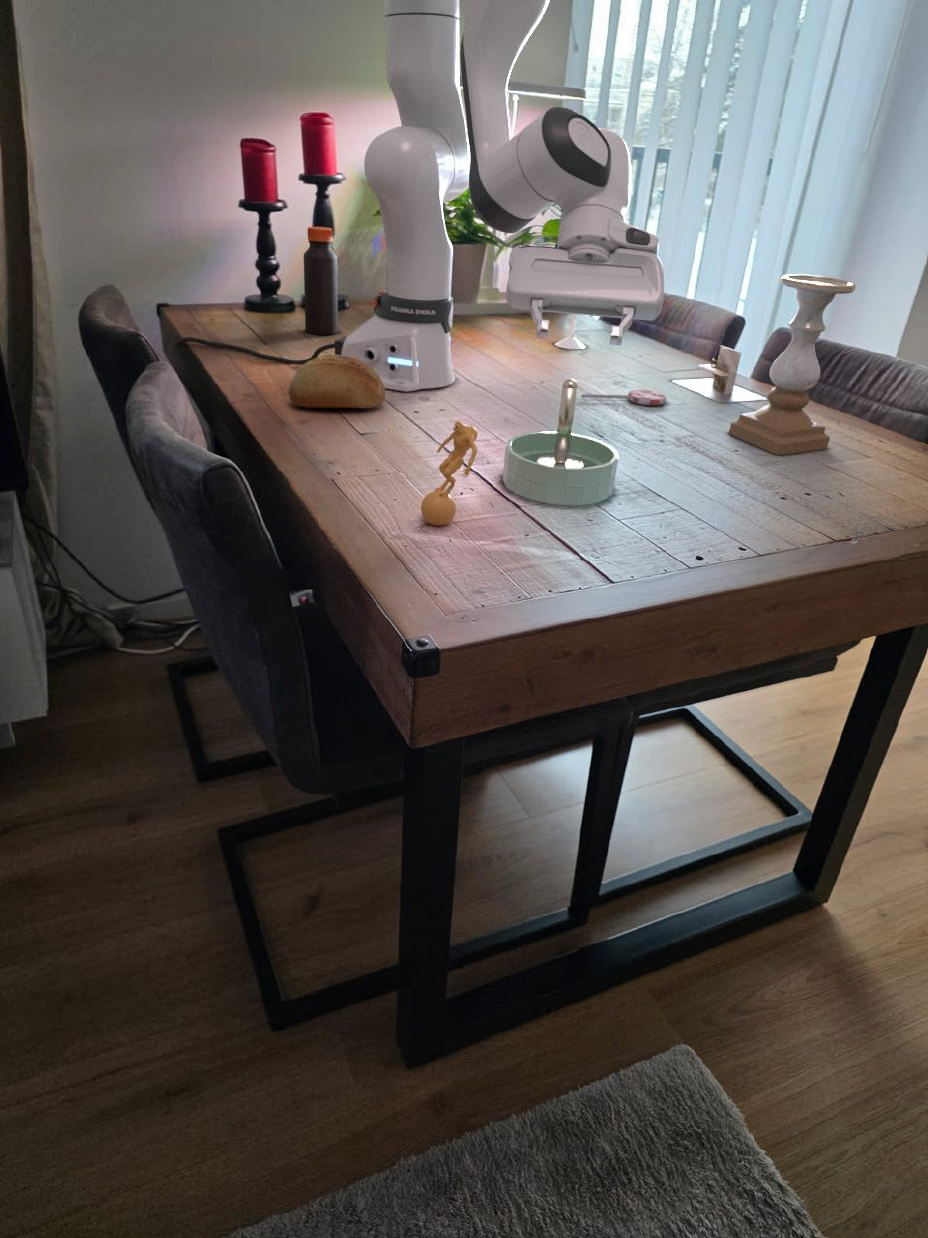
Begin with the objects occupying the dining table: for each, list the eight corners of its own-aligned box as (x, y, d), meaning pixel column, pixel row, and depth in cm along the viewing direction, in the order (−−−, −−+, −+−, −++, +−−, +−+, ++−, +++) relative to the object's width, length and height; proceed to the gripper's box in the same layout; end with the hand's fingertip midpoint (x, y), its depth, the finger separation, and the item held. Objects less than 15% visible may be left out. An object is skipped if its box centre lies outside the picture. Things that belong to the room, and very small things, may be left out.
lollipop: (577, 387, 150) (658, 389, 152) (576, 393, 150) (657, 395, 153) (587, 398, 144) (671, 400, 146) (586, 404, 145) (670, 406, 147)
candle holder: (777, 455, 128) (821, 287, 116) (726, 433, 136) (763, 273, 124) (828, 448, 132) (876, 286, 121) (776, 427, 141) (816, 273, 129)
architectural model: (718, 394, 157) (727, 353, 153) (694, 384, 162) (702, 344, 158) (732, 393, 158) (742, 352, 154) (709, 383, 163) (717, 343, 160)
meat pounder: (532, 489, 108) (544, 382, 102) (536, 473, 114) (548, 370, 107) (579, 495, 108) (595, 387, 101) (581, 478, 113) (596, 375, 106)
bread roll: (386, 418, 131) (387, 365, 127) (287, 415, 129) (285, 362, 125) (383, 400, 139) (384, 350, 135) (290, 397, 137) (288, 346, 133)
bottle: (335, 336, 177) (334, 231, 167) (302, 334, 177) (299, 228, 167) (340, 329, 183) (339, 227, 173) (308, 327, 183) (305, 225, 172)
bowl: (496, 500, 105) (500, 461, 103) (508, 462, 118) (512, 426, 115) (611, 513, 104) (618, 475, 102) (612, 473, 116) (617, 438, 114)
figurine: (409, 511, 100) (413, 411, 94) (456, 507, 103) (463, 408, 97) (434, 541, 94) (440, 435, 88) (484, 535, 96) (493, 431, 90)
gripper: (511, 224, 111) (497, 316, 107) (671, 236, 108) (661, 331, 105) (512, 257, 117) (498, 345, 113) (663, 269, 115) (654, 359, 111)
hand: (578, 338), depth 109 cm, fingers open, 8 cm apart
